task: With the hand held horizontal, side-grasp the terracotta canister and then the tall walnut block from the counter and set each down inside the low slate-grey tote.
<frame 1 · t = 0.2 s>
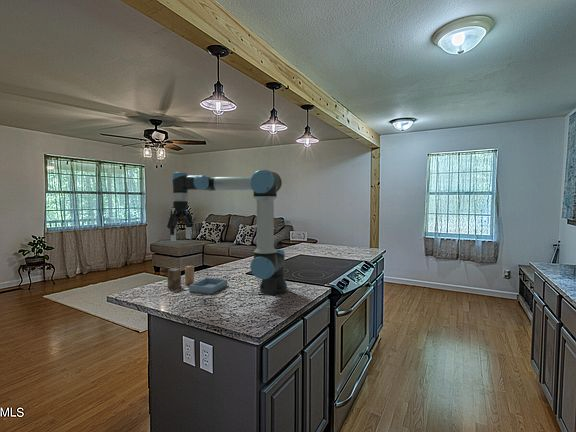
hand: (181, 239, 173), 27 cm above the counter, tool pointing down, fingers open, 13 cm apart
tote: (209, 288, 176), on the counter
walnut block: (174, 287, 178), on the counter
canister: (189, 283, 186), on the counter
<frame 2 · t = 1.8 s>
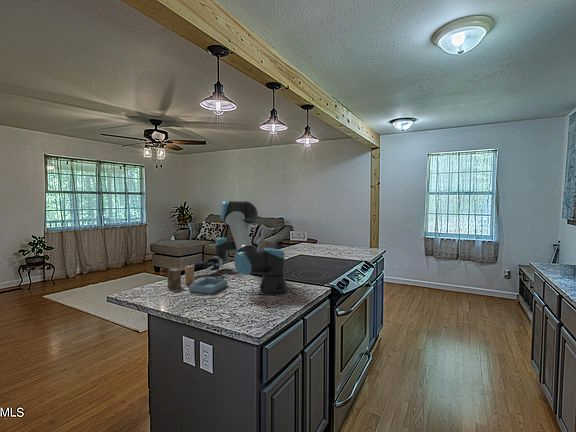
hand: (197, 269, 194), 6 cm above the counter, tool horizontal, fingers open, 13 cm apart
nothing on the counter moved.
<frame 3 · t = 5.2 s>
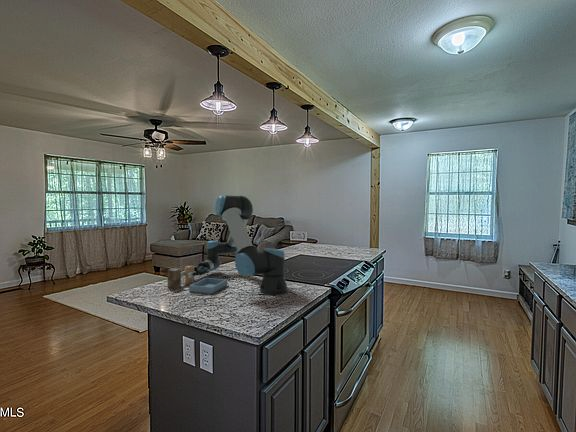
hand: (184, 275, 180), 6 cm above the counter, tool horizontal, fingers closed on canister, 5 cm apart
canister: (189, 283, 186), on the counter, touching gripper
everything else where it was.
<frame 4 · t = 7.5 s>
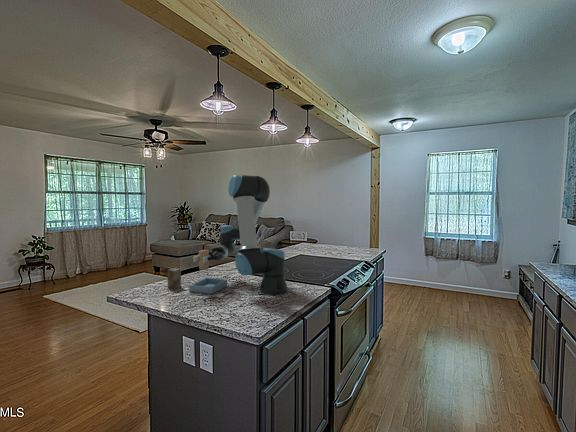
hand: (198, 259, 166), 18 cm above the counter, tool horizontal, fingers closed on canister, 5 cm apart
canister: (203, 268, 172), point 12 cm above the counter, touching gripper
everything else where it was.
when the fingers open (8 cm above the counter, at t = 9.7 s): canister drops 2 cm, resting on tote.
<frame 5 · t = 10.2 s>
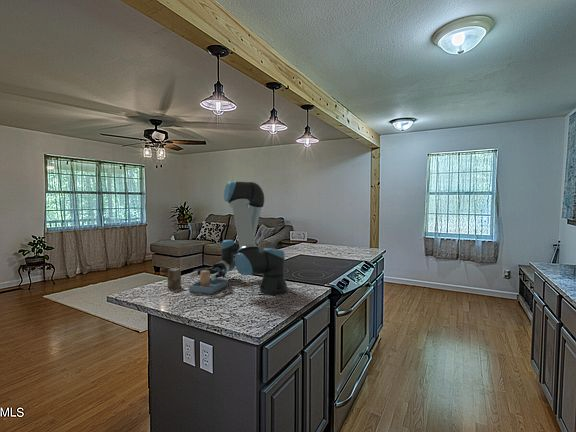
hand: (201, 276, 167), 8 cm above the counter, tool horizontal, fingers open, 12 cm apart
canister: (204, 289, 171), point 1 cm above the counter, touching tote
everything else where it was.
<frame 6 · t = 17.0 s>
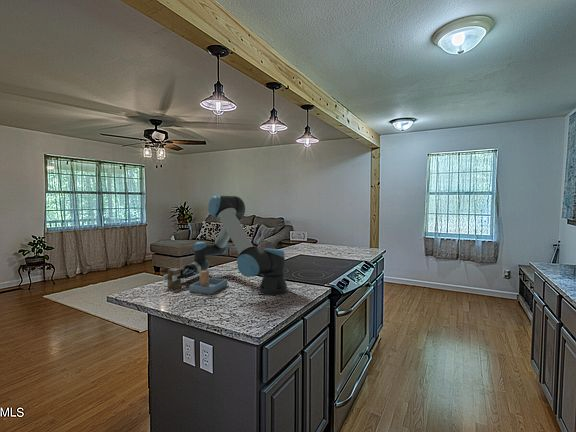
hand: (168, 278, 173), 6 cm above the counter, tool horizontal, fingers closed on walnut block, 5 cm apart
walnut block: (174, 286, 178), on the counter, touching gripper
everything else where it was.
when the fingers open (8 cm above the counter, at t = 21.7 s): walnut block drops 2 cm, resting on tote.
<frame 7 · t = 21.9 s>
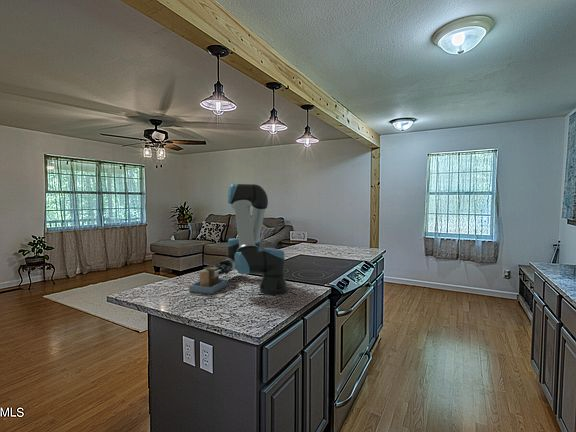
hand: (208, 273, 174), 8 cm above the counter, tool horizontal, fingers open, 8 cm apart
walnut block: (212, 285, 180), point 1 cm above the counter, touching tote
everything else where it was.
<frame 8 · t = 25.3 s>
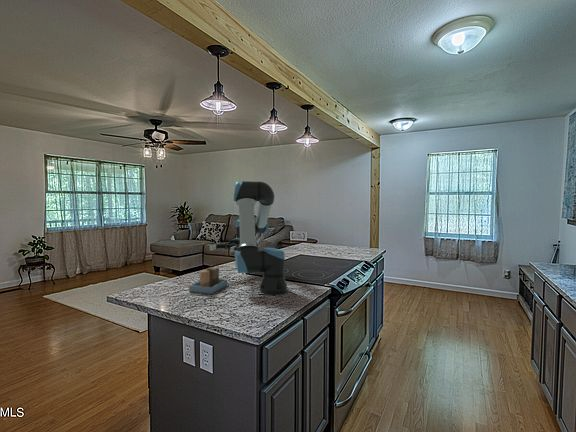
hand: (220, 249, 188), 20 cm above the counter, tool horizontal, fingers open, 13 cm apart
nothing on the counter moved.
at the end: canister inside the target area on the tote (4.3 cm from its centre), point 0.7 cm above the tote's base; walnut block inside the target area on the tote (4.1 cm from its centre), point 0.6 cm above the tote's base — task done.
